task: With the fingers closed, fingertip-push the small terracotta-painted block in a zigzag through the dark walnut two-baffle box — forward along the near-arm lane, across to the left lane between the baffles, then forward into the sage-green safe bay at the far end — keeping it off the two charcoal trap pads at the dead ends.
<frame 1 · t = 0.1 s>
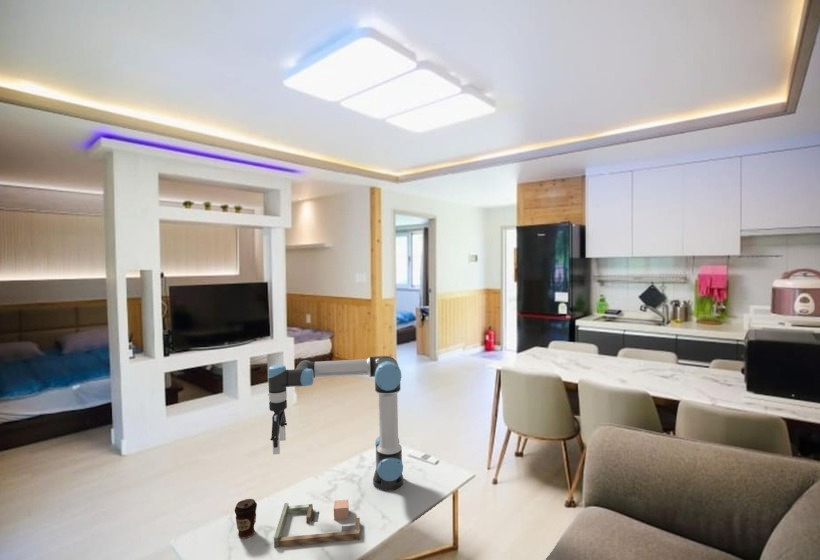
hand: (279, 446, 184), 28 cm above the table, fingers open, 13 cm apart
trap box: (319, 524, 173), on the table
coffee cup: (246, 534, 168), on the table
block: (341, 515, 179), on the table
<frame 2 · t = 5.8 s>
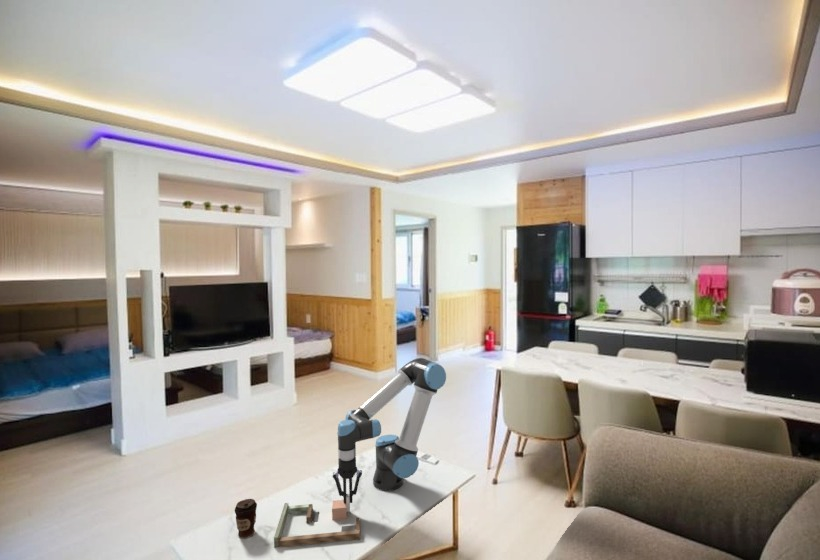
hand: (348, 509, 179), 2 cm above the table, fingers closed
block: (339, 515, 179), on the table, touching gripper
everything else where it was.
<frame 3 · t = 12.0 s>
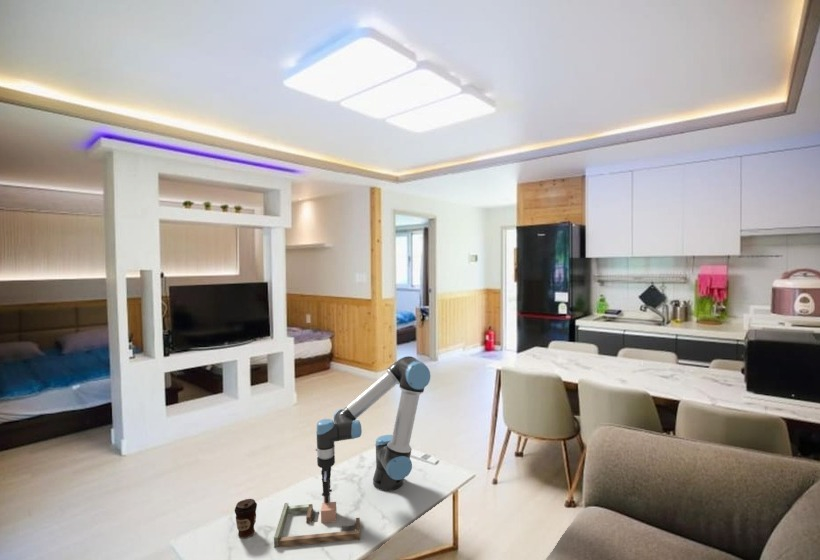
hand: (327, 507, 181), 2 cm above the table, fingers closed
block: (329, 517, 177), on the table, touching gripper
everything else where it was.
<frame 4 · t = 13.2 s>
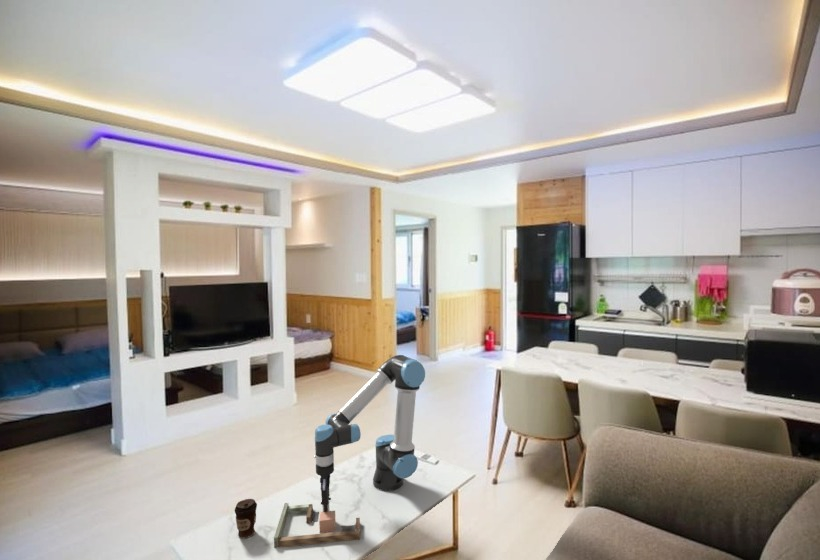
hand: (326, 516, 175), 2 cm above the table, fingers closed
block: (327, 527, 171), on the table, touching gripper
everything else where it was.
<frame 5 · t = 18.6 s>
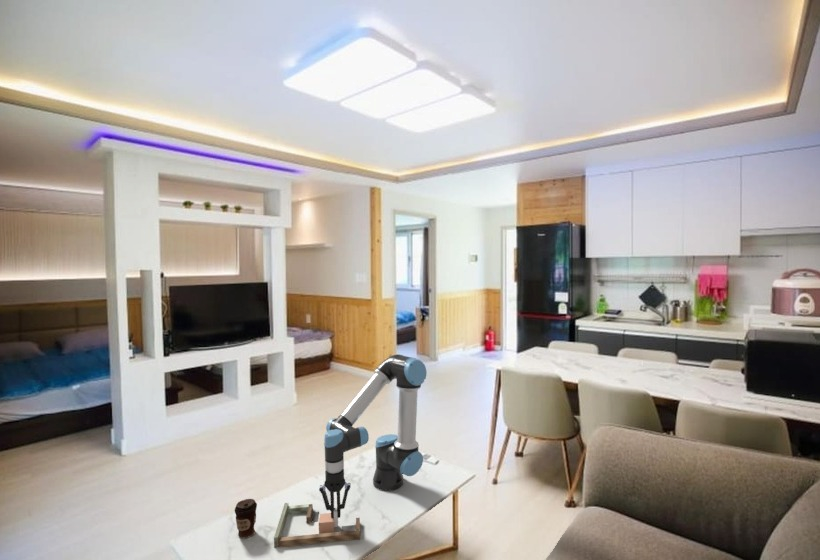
hand: (336, 524, 169), 2 cm above the table, fingers closed
block: (327, 529, 170), on the table, touching gripper
everything else where it was.
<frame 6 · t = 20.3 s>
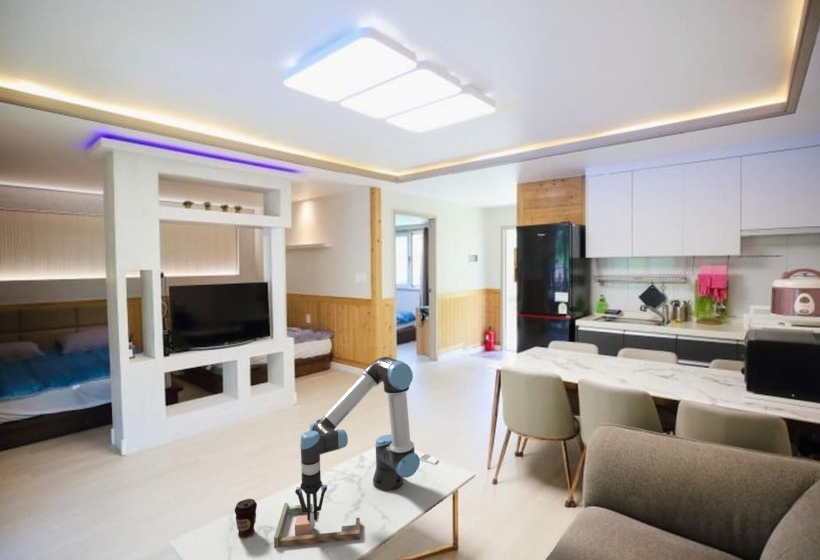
hand: (312, 526, 168), 2 cm above the table, fingers closed
block: (303, 531, 169), on the table, touching gripper
everything else where it was.
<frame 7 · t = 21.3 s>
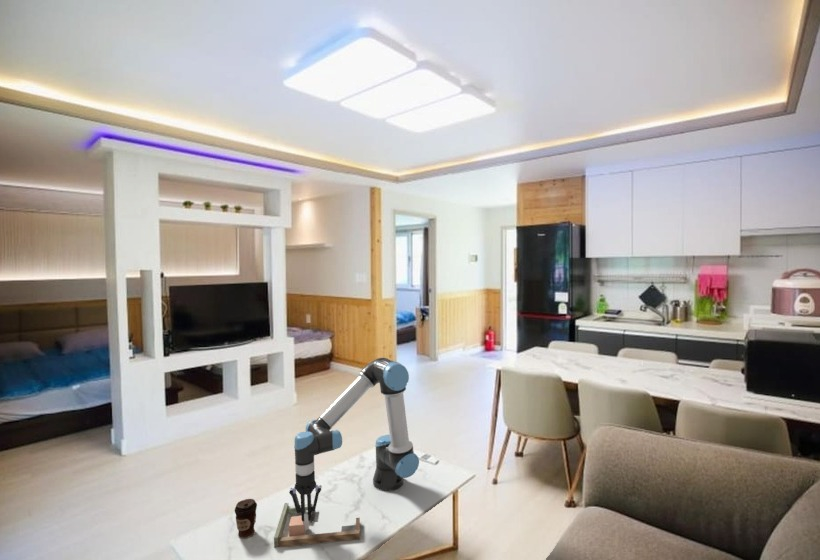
hand: (306, 527, 168), 2 cm above the table, fingers closed
block: (298, 532, 168), on the table, touching gripper
everything else where it was.
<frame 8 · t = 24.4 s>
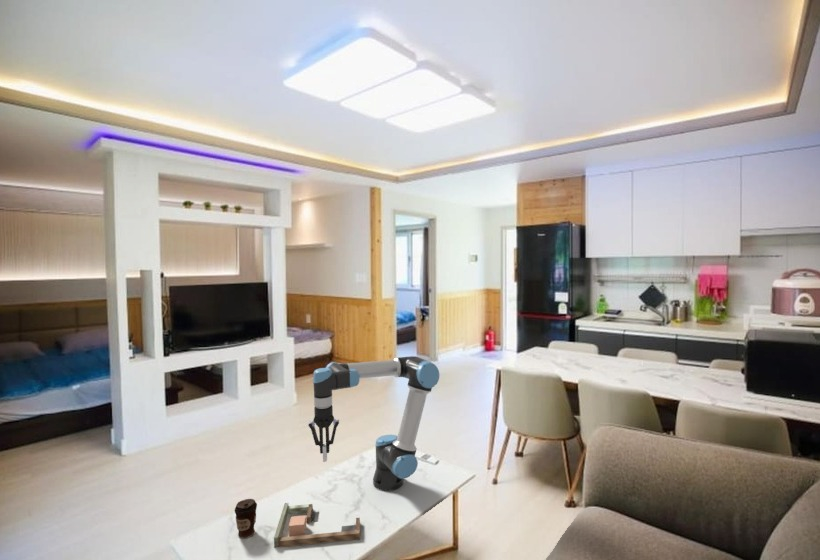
hand: (325, 460, 174), 26 cm above the table, fingers closed
block: (297, 532, 168), on the table
everything else where it was.
at the end: block inside the target area (4.4 cm from its centre), on the table; block tilted 0° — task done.
